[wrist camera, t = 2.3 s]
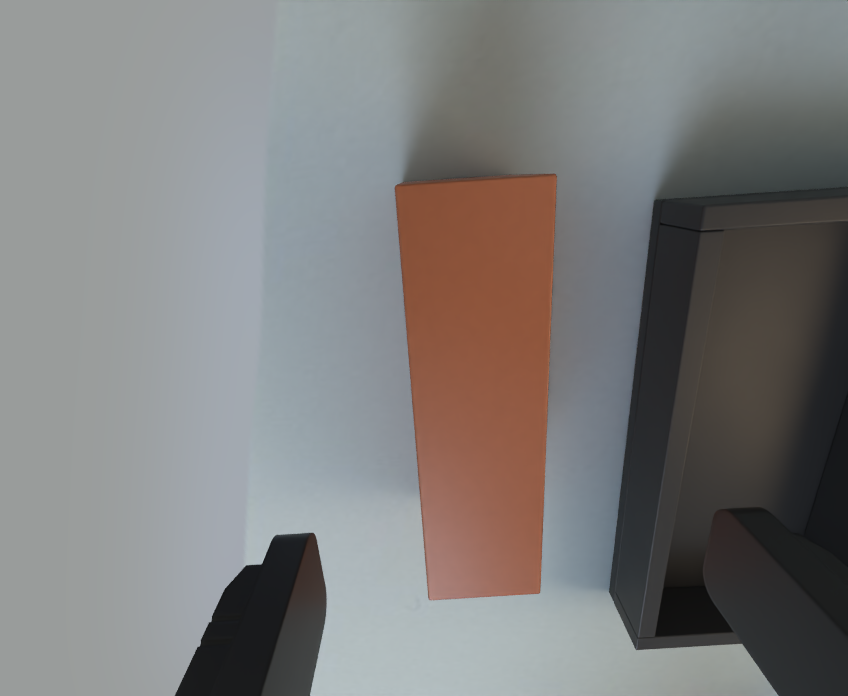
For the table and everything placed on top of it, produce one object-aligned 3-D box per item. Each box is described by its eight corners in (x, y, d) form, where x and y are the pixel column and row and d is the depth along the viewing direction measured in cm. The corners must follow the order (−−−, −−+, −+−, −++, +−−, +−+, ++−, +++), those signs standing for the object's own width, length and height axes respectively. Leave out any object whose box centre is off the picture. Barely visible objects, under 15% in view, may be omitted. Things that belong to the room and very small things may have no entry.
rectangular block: (401, 182, 16) (394, 184, 11) (512, 174, 16) (557, 173, 11) (425, 498, 21) (428, 601, 16) (510, 492, 21) (540, 594, 16)
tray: (653, 199, 16) (704, 204, 14) (916, 182, 16) (1023, 183, 13) (608, 592, 23) (635, 650, 21) (792, 580, 23) (845, 637, 21)
